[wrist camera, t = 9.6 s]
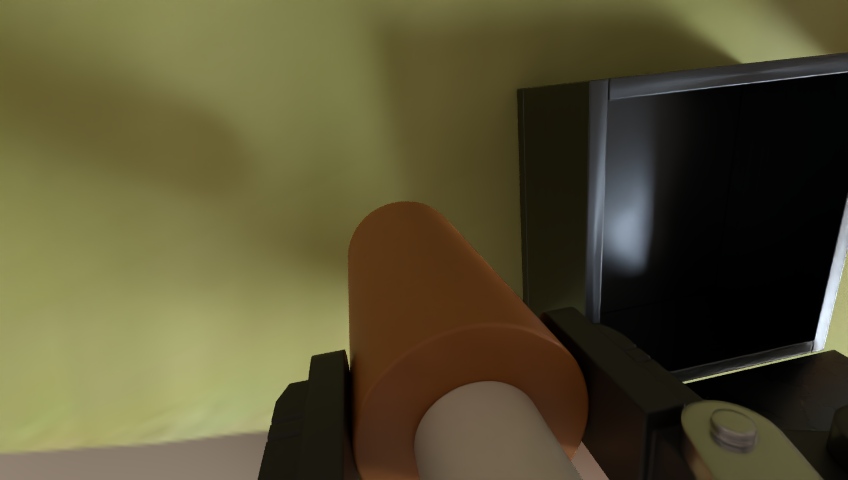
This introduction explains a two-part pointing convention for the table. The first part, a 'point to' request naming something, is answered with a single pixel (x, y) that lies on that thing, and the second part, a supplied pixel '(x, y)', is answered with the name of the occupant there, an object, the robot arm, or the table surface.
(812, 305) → the warmer
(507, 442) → the bottle
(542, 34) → the table surface
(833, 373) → the lid
